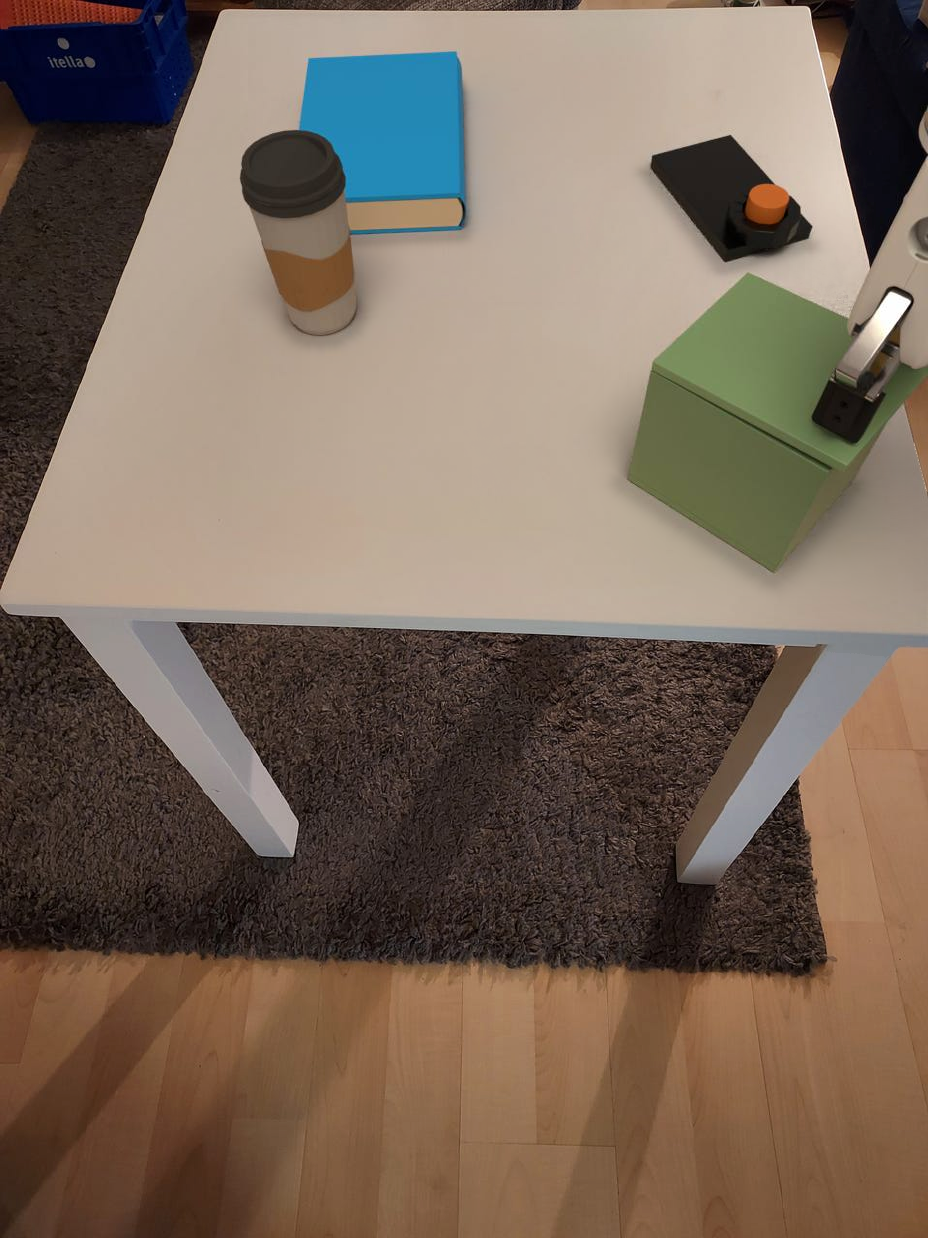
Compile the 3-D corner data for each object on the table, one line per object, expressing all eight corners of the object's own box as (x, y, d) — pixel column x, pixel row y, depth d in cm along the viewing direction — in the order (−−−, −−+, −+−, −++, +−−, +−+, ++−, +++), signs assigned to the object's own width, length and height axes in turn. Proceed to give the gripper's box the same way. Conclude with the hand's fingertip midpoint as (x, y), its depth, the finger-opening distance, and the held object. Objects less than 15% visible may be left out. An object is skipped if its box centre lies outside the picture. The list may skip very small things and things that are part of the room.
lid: (933, 368, 56) (972, 298, 51) (843, 474, 52) (876, 408, 47) (745, 280, 61) (764, 209, 56) (650, 369, 57) (662, 301, 52)
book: (288, 201, 80) (305, 54, 92) (298, 240, 84) (312, 94, 96) (468, 192, 80) (461, 45, 92) (469, 232, 83) (462, 86, 95)
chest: (853, 479, 67) (918, 368, 56) (774, 573, 63) (828, 472, 52) (709, 397, 71) (744, 281, 61) (627, 479, 67) (650, 370, 57)
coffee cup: (381, 292, 79) (358, 135, 66) (346, 353, 75) (313, 199, 62) (302, 275, 81) (263, 118, 68) (263, 333, 77) (215, 179, 64)
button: (791, 219, 78) (796, 202, 77) (756, 228, 78) (761, 211, 76) (771, 196, 80) (776, 179, 78) (737, 206, 79) (742, 188, 78)
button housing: (815, 246, 80) (826, 217, 78) (731, 270, 79) (739, 242, 76) (727, 146, 88) (734, 117, 86) (650, 166, 87) (654, 138, 84)
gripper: (1013, 242, 34) (851, 507, 49) (1178, 55, 40) (987, 344, 55) (845, 170, 36) (741, 443, 52) (1023, 4, 42) (883, 293, 58)
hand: (869, 390), depth 53 cm, fingers open, 7 cm apart
